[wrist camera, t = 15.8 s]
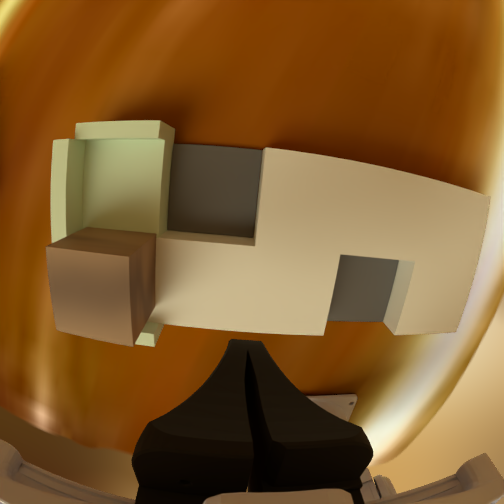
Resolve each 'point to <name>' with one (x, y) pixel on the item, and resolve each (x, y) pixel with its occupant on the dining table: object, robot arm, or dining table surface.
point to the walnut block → (103, 283)
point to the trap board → (273, 232)
